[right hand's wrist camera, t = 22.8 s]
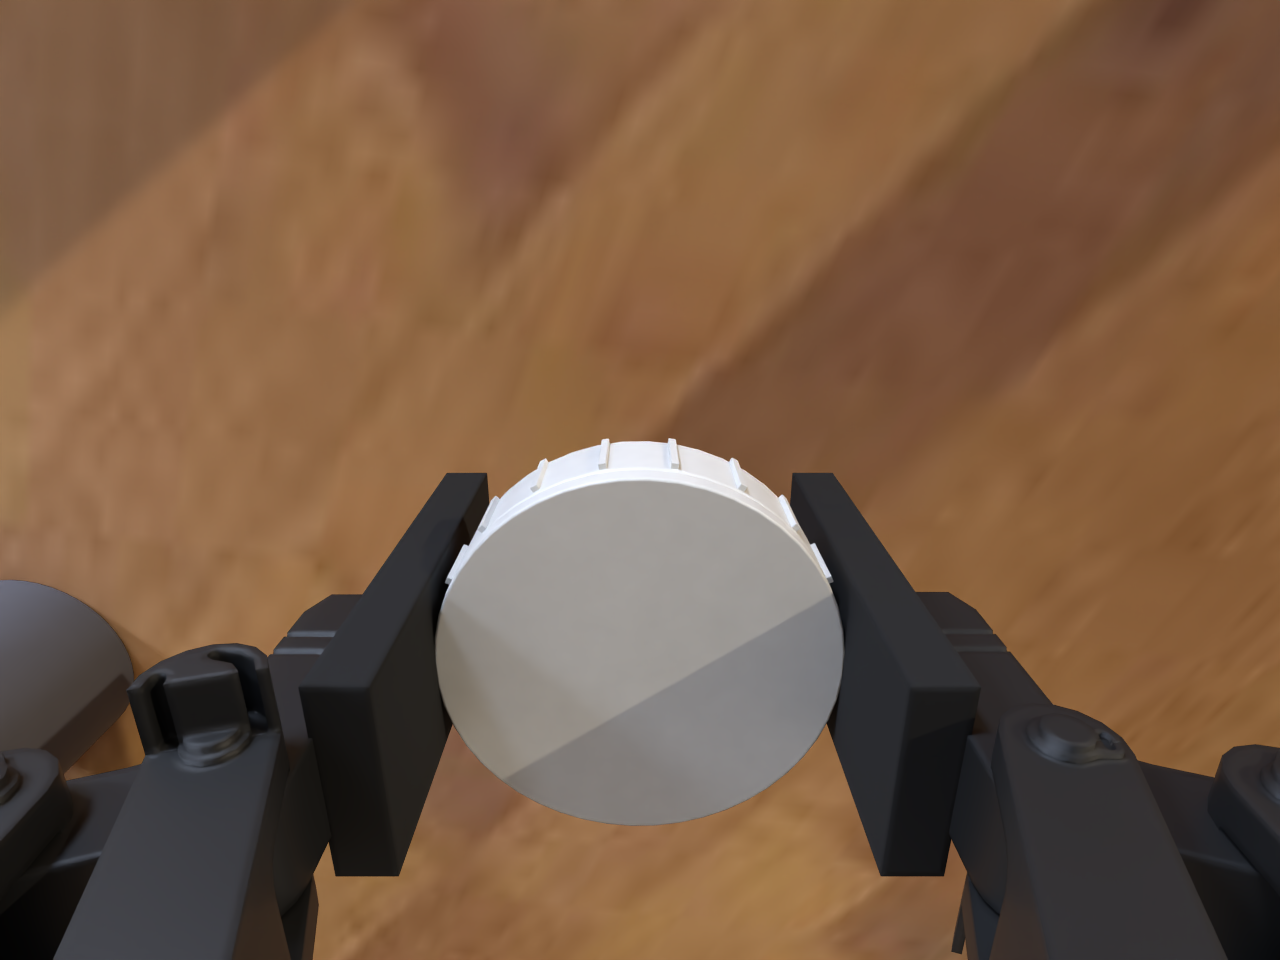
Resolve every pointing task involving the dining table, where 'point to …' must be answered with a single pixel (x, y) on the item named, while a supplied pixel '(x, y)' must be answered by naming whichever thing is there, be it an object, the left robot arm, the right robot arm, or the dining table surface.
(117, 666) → the jar
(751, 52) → the dining table surface
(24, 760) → the right robot arm
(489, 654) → the lid
